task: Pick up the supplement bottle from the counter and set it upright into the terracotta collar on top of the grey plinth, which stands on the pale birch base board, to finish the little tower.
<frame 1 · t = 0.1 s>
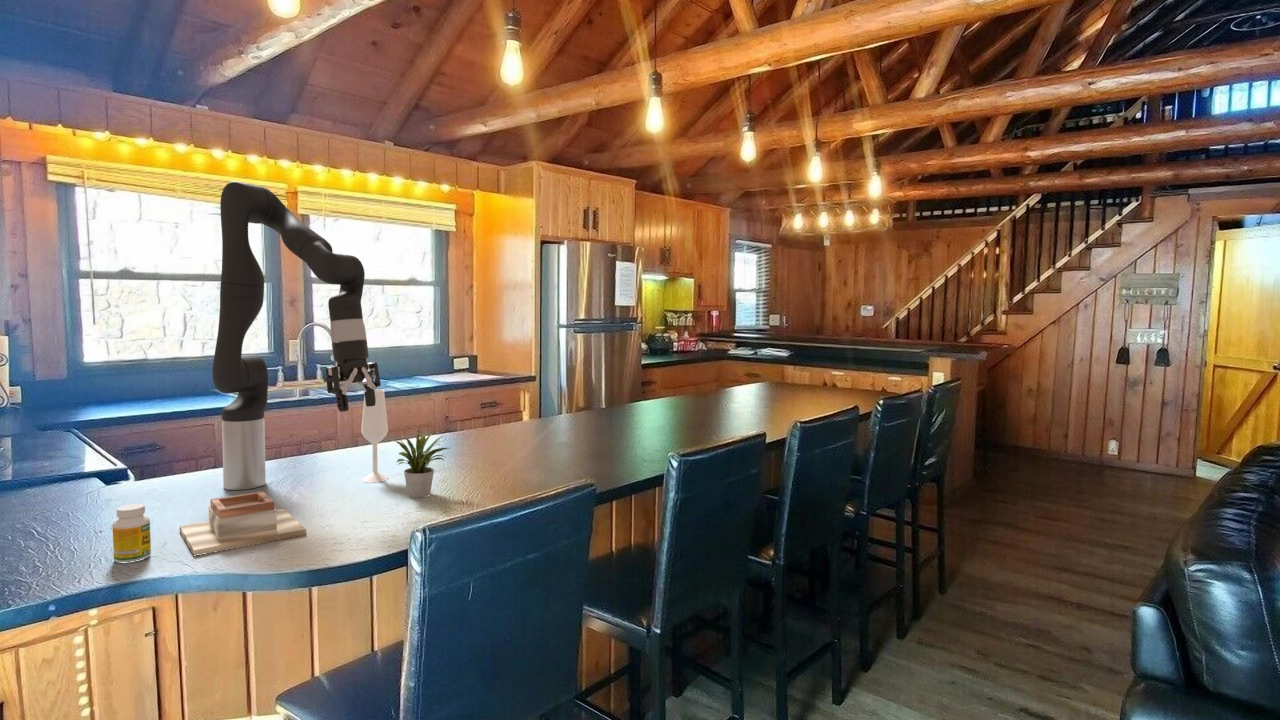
hand: (357, 408, 154), 22 cm above the countertop, tool pointing down, fingers open, 8 cm apart
champagne flute: (375, 479, 177), on the countertop
tower base: (243, 533, 133), on the countertop
supplement bottle: (132, 559, 119), on the countertop
house plant: (416, 497, 162), on the countertop
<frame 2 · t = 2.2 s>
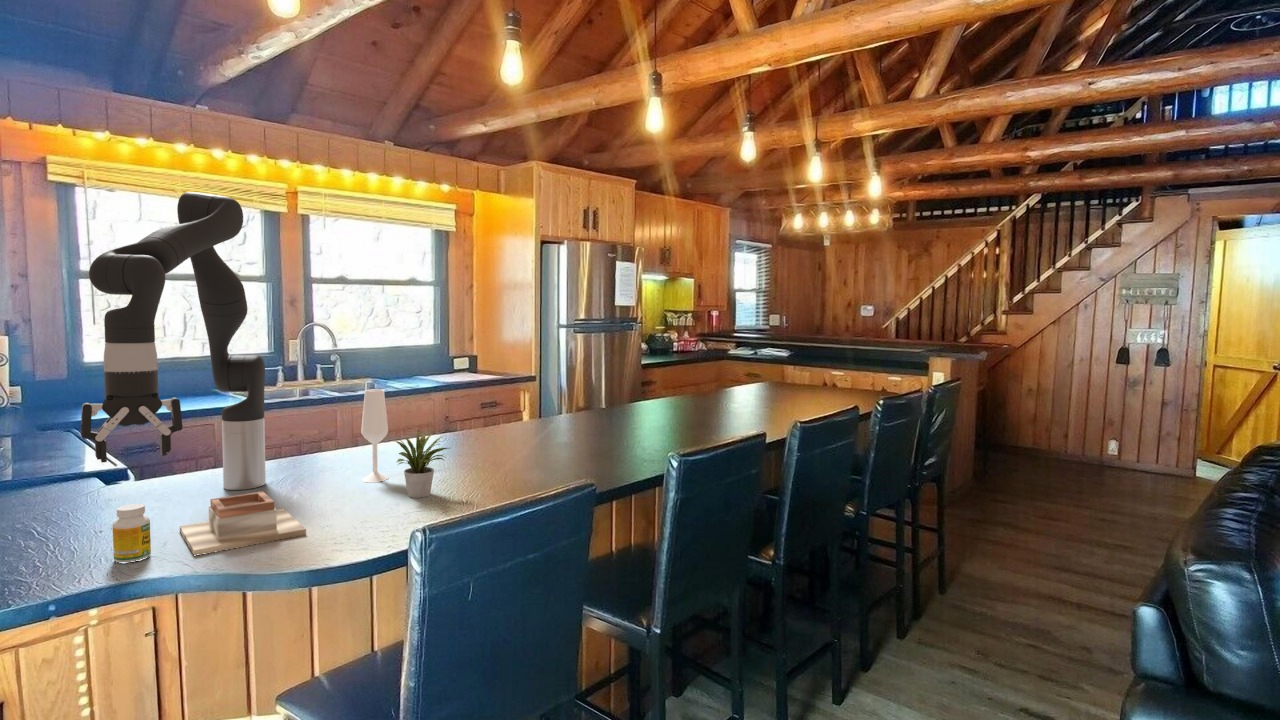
hand: (134, 458, 118), 18 cm above the countertop, tool pointing down, fingers open, 8 cm apart
nothing on the countertop moved.
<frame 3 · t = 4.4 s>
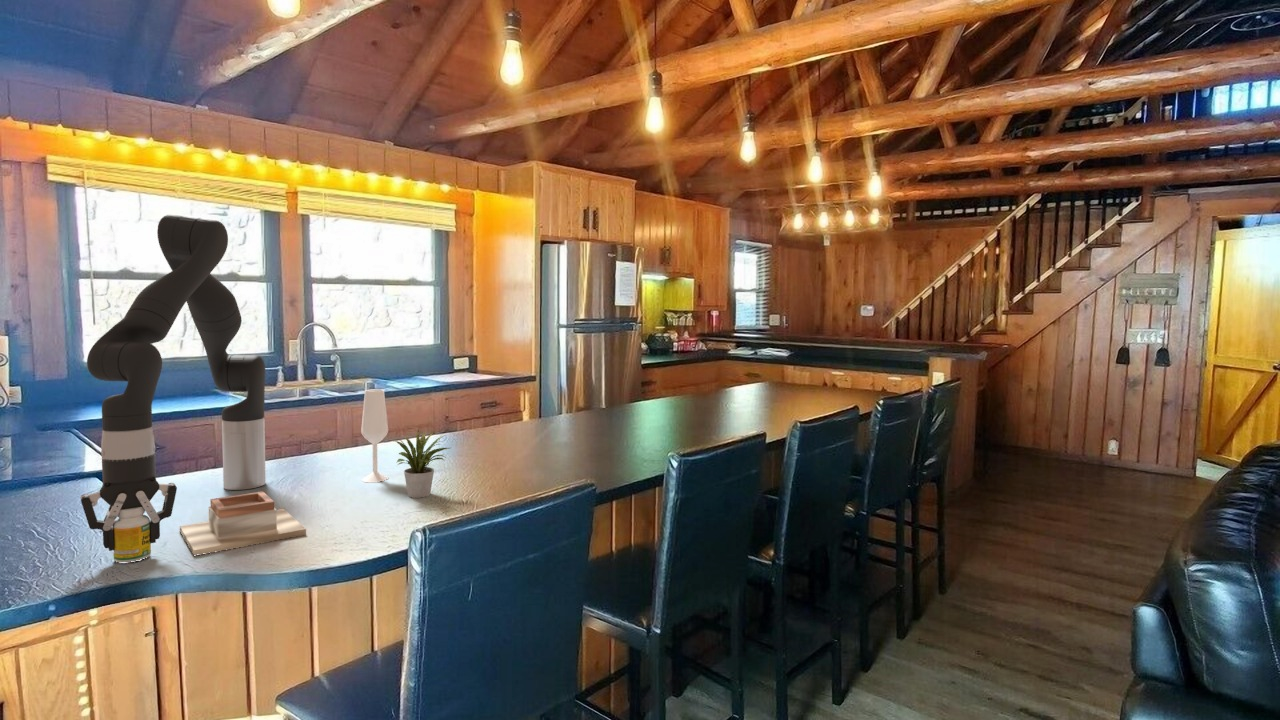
hand: (132, 545, 119), 2 cm above the countertop, tool pointing down, fingers closed on supplement bottle, 5 cm apart
supplement bottle: (132, 559, 119), on the countertop, touching gripper
everything else where it was.
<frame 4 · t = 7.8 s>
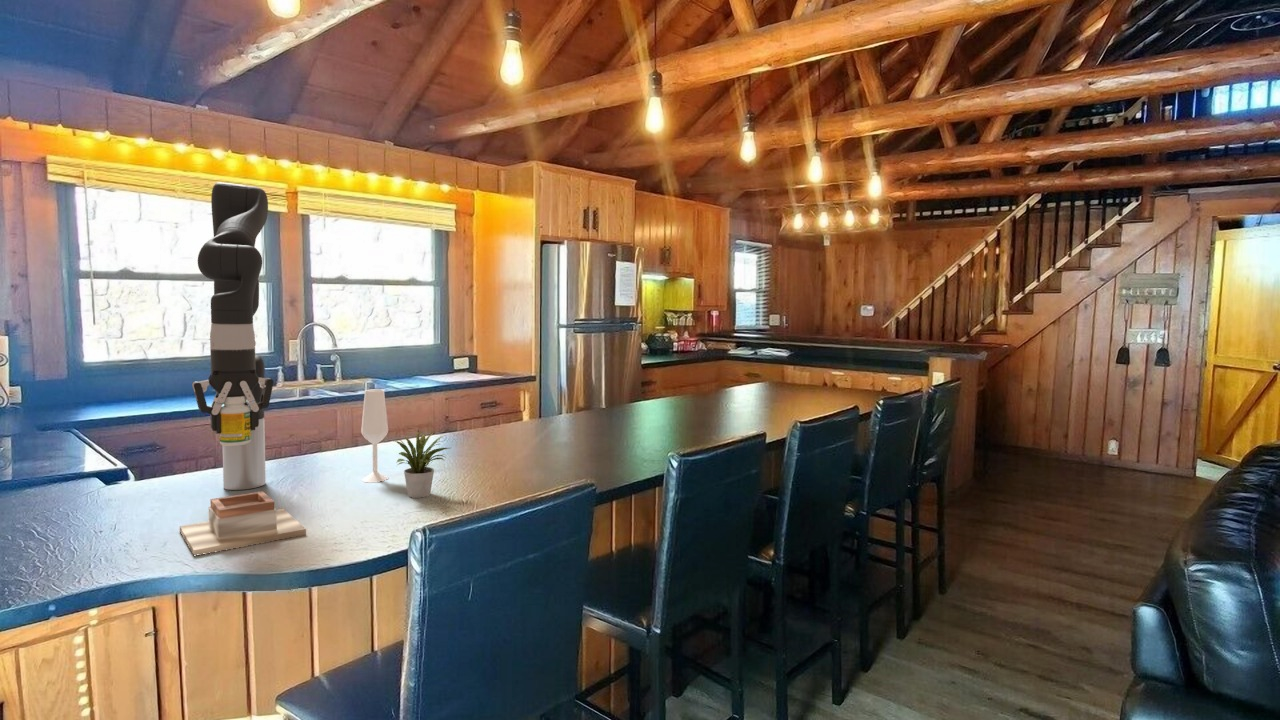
hand: (235, 431, 131), 21 cm above the countertop, tool pointing down, fingers closed on supplement bottle, 5 cm apart
supplement bottle: (235, 444, 131), point 18 cm above the countertop, touching gripper
everything else where it was.
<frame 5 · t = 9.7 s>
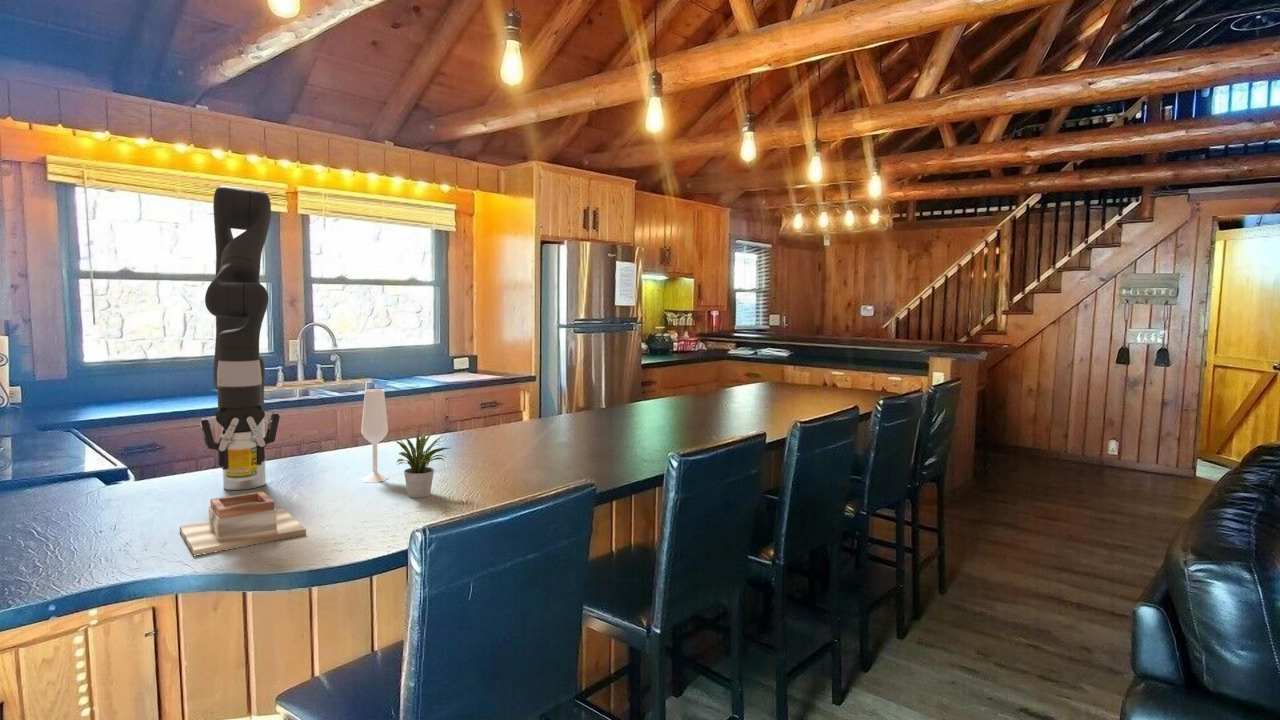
hand: (241, 466, 132), 14 cm above the countertop, tool pointing down, fingers closed on supplement bottle, 5 cm apart
supplement bottle: (242, 479, 133), point 11 cm above the countertop, touching gripper
everything else where it was.
when the fingers open (10 cm above the countertop, at t = 11.2 s): supplement bottle drops 2 cm, resting on tower base.
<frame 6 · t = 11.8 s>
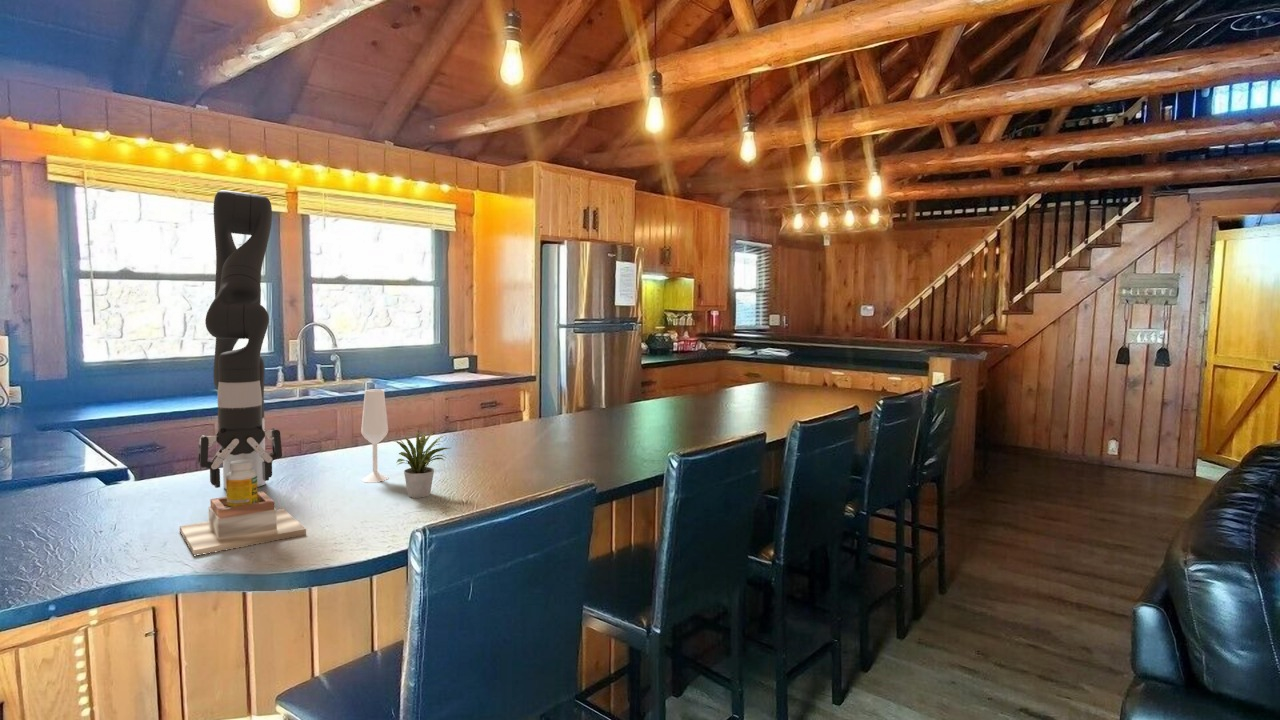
hand: (241, 483, 133), 10 cm above the countertop, tool pointing down, fingers open, 8 cm apart
supplement bottle: (242, 509, 133), point 5 cm above the countertop, touching tower base
everything else where it was.
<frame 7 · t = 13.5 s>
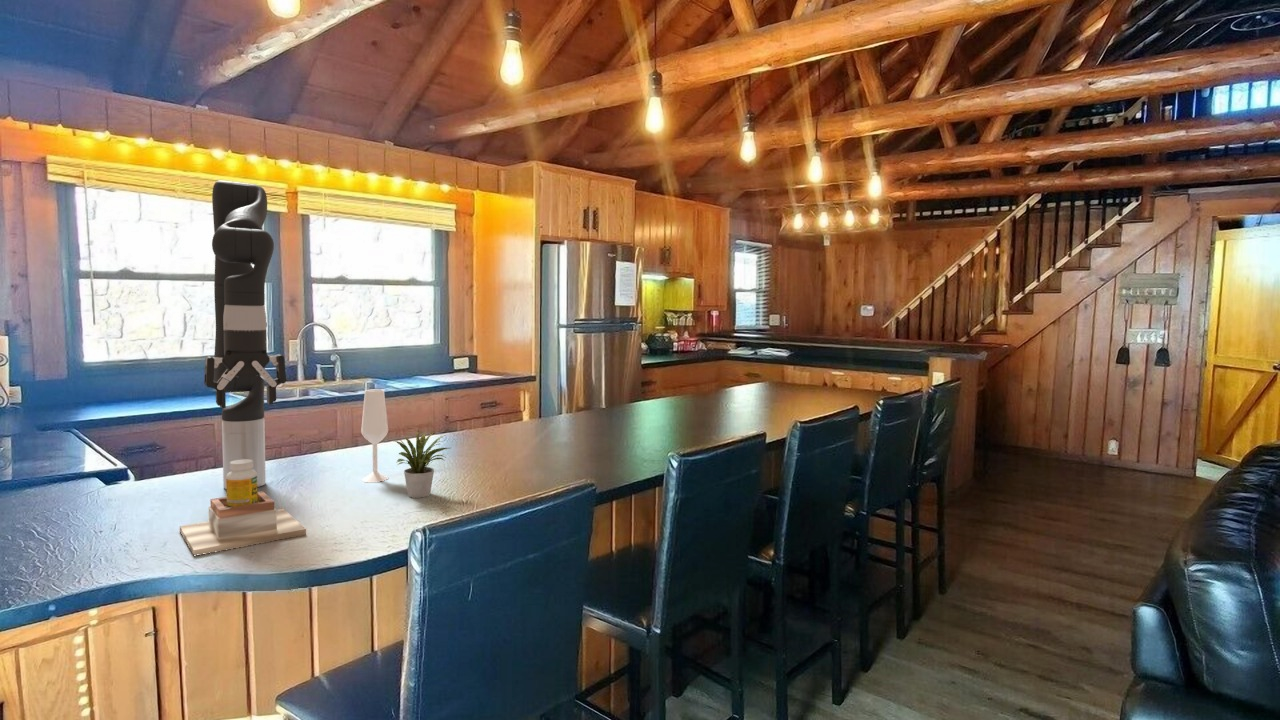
hand: (246, 406, 136), 25 cm above the countertop, tool pointing down, fingers open, 8 cm apart
nothing on the countertop moved.
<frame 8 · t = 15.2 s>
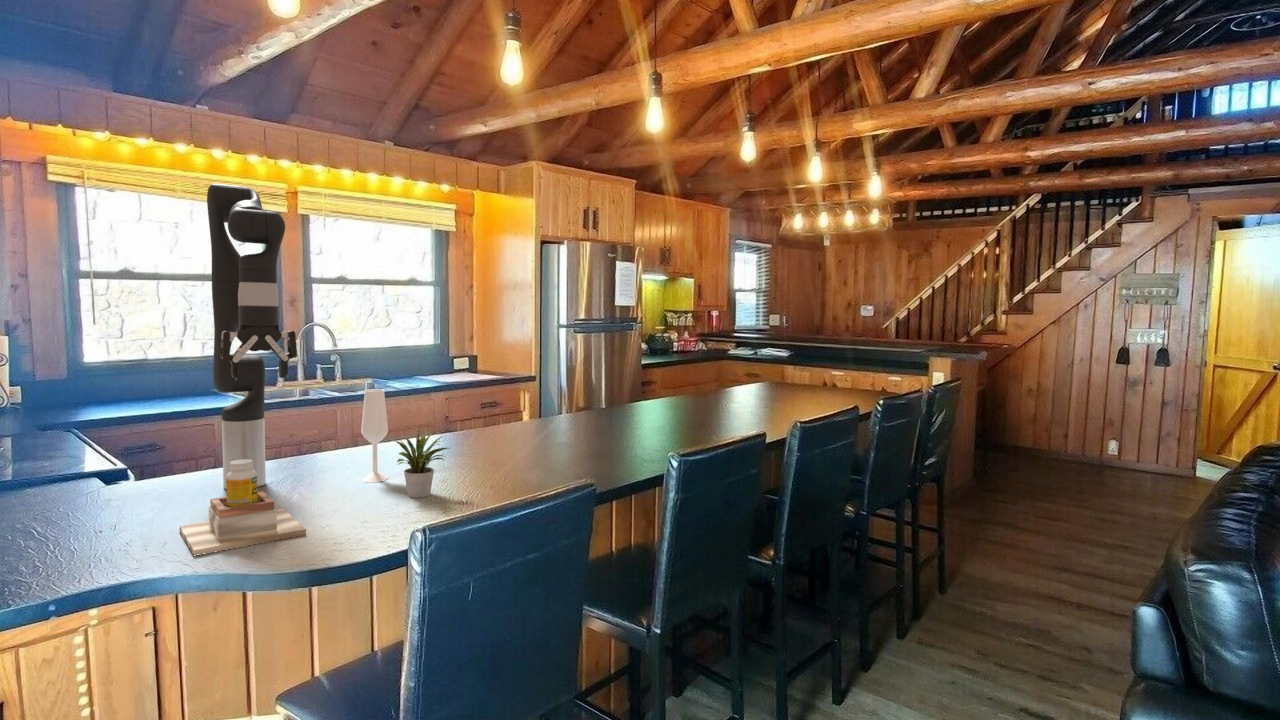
hand: (260, 378, 143), 30 cm above the countertop, tool pointing down, fingers open, 8 cm apart
nothing on the countertop moved.
at the end: supplement bottle 0.0 cm off-centre on the tower base, point 5.0 cm above the tower base's base; supplement bottle tilted 0°; the gripper is holding nothing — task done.
